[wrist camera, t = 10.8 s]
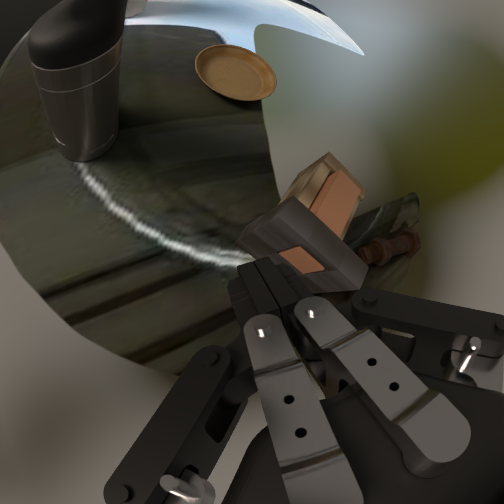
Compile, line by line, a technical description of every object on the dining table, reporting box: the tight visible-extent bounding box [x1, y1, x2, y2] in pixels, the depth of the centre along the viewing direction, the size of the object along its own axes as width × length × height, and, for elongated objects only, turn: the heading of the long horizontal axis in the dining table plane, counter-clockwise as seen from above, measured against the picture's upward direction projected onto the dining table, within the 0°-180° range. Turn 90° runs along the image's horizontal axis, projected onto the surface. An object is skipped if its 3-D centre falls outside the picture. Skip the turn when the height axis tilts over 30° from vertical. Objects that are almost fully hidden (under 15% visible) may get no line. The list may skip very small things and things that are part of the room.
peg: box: [279, 169, 361, 274], centre depth 33 cm, size 13×4×4 cm, turn 146°
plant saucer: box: [195, 44, 276, 101], centre depth 40 cm, size 15×15×3 cm
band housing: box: [235, 152, 369, 293], centre depth 35 cm, size 16×12×12 cm
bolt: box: [358, 228, 420, 266], centre depth 46 cm, size 6×5×15 cm
